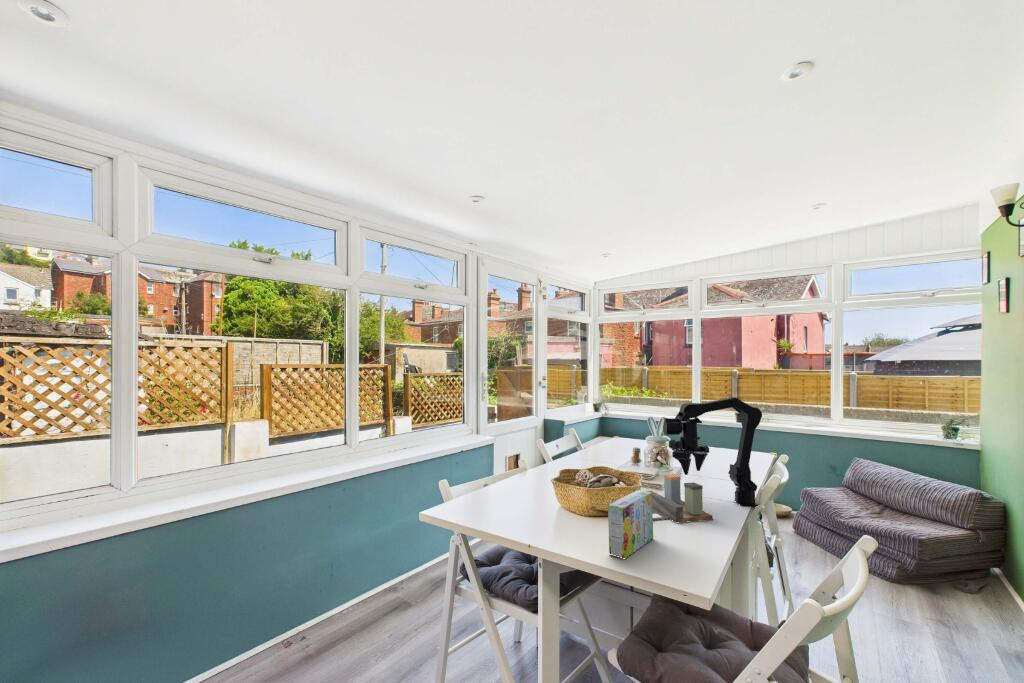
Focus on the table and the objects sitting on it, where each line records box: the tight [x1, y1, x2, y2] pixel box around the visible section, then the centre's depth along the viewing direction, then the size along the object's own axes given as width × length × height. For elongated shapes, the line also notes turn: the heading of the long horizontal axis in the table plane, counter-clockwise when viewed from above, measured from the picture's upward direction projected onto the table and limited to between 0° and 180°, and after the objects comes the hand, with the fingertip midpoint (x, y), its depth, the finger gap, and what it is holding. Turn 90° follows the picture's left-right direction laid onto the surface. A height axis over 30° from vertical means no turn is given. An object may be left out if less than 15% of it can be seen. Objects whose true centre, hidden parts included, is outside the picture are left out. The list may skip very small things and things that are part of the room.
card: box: [652, 508, 670, 521], centre depth 175 cm, size 8×14×1 cm, turn 13°
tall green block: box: [683, 481, 704, 515], centre depth 171 cm, size 4×5×10 cm
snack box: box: [607, 489, 654, 559], centre depth 144 cm, size 21×6×15 cm, turn 141°
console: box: [646, 490, 714, 523], centre depth 177 cm, size 15×22×6 cm
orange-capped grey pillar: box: [663, 473, 682, 503], centre depth 185 cm, size 4×5×10 cm
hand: (692, 472), depth 189 cm, fingers open, 9 cm apart
